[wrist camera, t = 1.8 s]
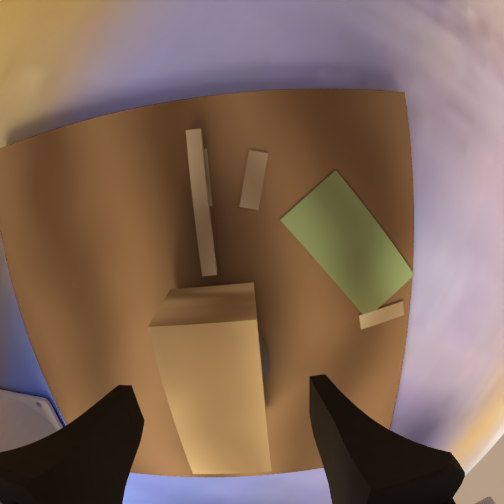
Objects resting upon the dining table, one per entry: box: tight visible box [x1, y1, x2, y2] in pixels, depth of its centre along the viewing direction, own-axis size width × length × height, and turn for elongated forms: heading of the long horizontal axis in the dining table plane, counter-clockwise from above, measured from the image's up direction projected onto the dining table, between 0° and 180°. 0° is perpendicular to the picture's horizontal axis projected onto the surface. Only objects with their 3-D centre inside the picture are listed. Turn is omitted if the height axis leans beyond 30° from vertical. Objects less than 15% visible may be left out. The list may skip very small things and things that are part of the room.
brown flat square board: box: [0, 89, 414, 477], centre depth 15 cm, size 21×22×1 cm
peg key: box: [148, 128, 271, 474], centre depth 12 cm, size 4×14×4 cm, turn 5°
